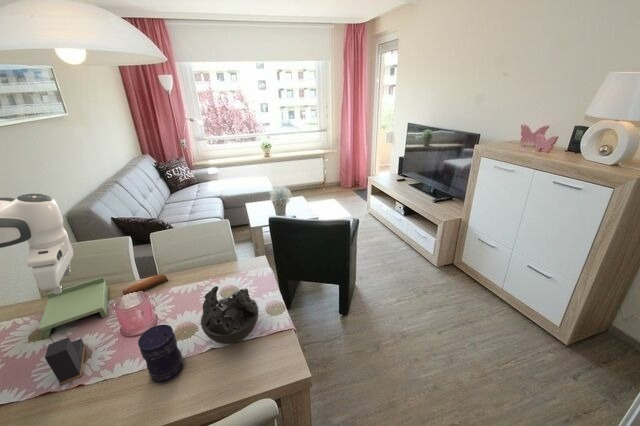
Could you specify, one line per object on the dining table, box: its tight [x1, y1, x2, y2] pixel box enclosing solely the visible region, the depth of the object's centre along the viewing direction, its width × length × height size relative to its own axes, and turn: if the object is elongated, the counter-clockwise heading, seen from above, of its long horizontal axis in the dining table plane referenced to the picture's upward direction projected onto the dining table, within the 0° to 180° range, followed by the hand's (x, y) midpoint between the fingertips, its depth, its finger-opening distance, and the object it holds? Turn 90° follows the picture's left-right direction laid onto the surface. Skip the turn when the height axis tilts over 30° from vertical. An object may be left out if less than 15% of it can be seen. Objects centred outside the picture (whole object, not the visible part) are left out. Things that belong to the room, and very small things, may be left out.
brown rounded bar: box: [122, 274, 168, 296], centre depth 137 cm, size 18×7×7 cm
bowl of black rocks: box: [200, 285, 259, 345], centre depth 105 cm, size 20×20×19 cm
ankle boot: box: [44, 337, 86, 386], centre depth 97 cm, size 5×15×12 cm, turn 33°
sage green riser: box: [38, 276, 109, 340], centre depth 122 cm, size 20×22×7 cm
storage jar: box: [137, 324, 185, 385], centre depth 93 cm, size 10×10×15 cm
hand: (63, 283), depth 93 cm, fingers open, 8 cm apart
